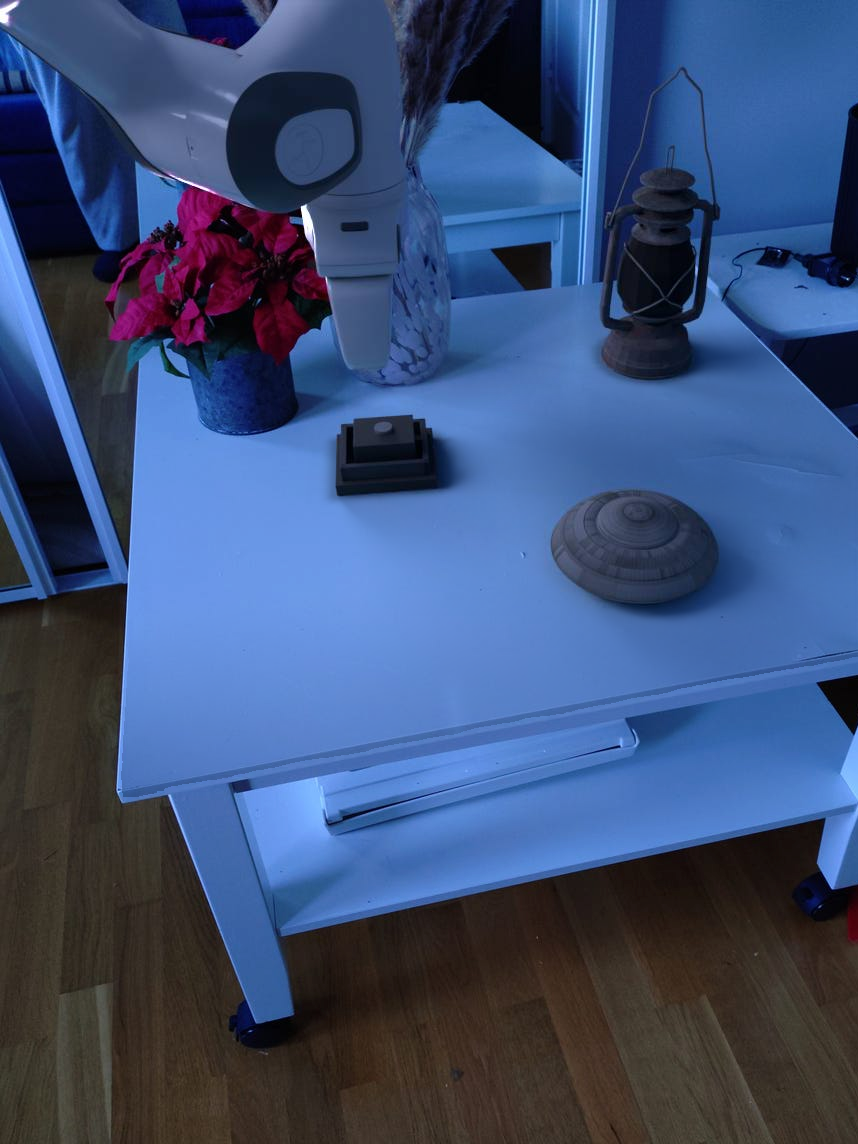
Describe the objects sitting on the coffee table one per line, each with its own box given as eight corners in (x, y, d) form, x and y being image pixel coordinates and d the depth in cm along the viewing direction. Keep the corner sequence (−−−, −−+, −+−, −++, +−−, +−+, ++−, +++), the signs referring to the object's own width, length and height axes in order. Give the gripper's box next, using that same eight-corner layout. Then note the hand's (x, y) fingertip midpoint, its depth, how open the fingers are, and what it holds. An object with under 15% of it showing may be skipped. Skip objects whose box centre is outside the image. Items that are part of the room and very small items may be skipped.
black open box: (337, 495, 92) (333, 472, 90) (338, 443, 98) (334, 420, 96) (437, 488, 93) (436, 465, 90) (432, 436, 99) (431, 414, 97)
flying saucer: (534, 516, 89) (536, 469, 85) (685, 497, 91) (694, 450, 87) (571, 626, 79) (574, 578, 75) (740, 603, 80) (752, 555, 76)
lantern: (683, 328, 114) (724, 45, 92) (712, 373, 106) (765, 77, 85) (584, 339, 112) (602, 54, 91) (607, 385, 105) (633, 88, 83)
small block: (356, 472, 93) (352, 443, 90) (356, 443, 96) (352, 414, 94) (417, 467, 93) (414, 438, 90) (414, 439, 96) (412, 410, 94)
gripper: (320, 168, 84) (338, 313, 94) (314, 266, 70) (336, 425, 80) (390, 164, 84) (401, 309, 94) (398, 262, 70) (410, 420, 80)
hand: (371, 363), depth 87 cm, fingers closed
